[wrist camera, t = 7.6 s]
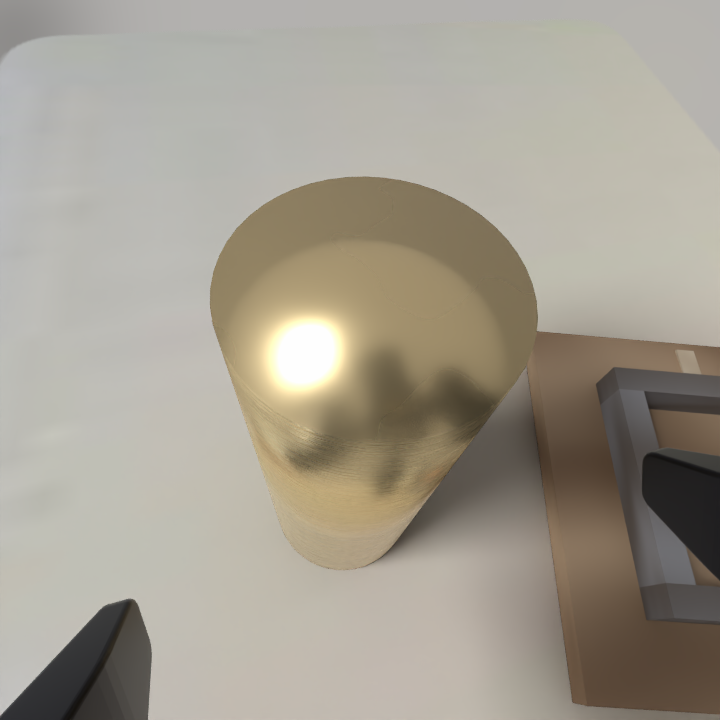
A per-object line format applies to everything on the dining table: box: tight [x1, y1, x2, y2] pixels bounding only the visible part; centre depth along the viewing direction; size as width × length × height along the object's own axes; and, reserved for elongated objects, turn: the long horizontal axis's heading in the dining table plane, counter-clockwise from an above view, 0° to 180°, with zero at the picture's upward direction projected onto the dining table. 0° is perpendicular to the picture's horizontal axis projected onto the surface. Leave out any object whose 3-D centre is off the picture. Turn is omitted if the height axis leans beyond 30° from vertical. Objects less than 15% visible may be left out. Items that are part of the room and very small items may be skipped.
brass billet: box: [210, 177, 538, 570], centre depth 13 cm, size 5×5×13 cm
